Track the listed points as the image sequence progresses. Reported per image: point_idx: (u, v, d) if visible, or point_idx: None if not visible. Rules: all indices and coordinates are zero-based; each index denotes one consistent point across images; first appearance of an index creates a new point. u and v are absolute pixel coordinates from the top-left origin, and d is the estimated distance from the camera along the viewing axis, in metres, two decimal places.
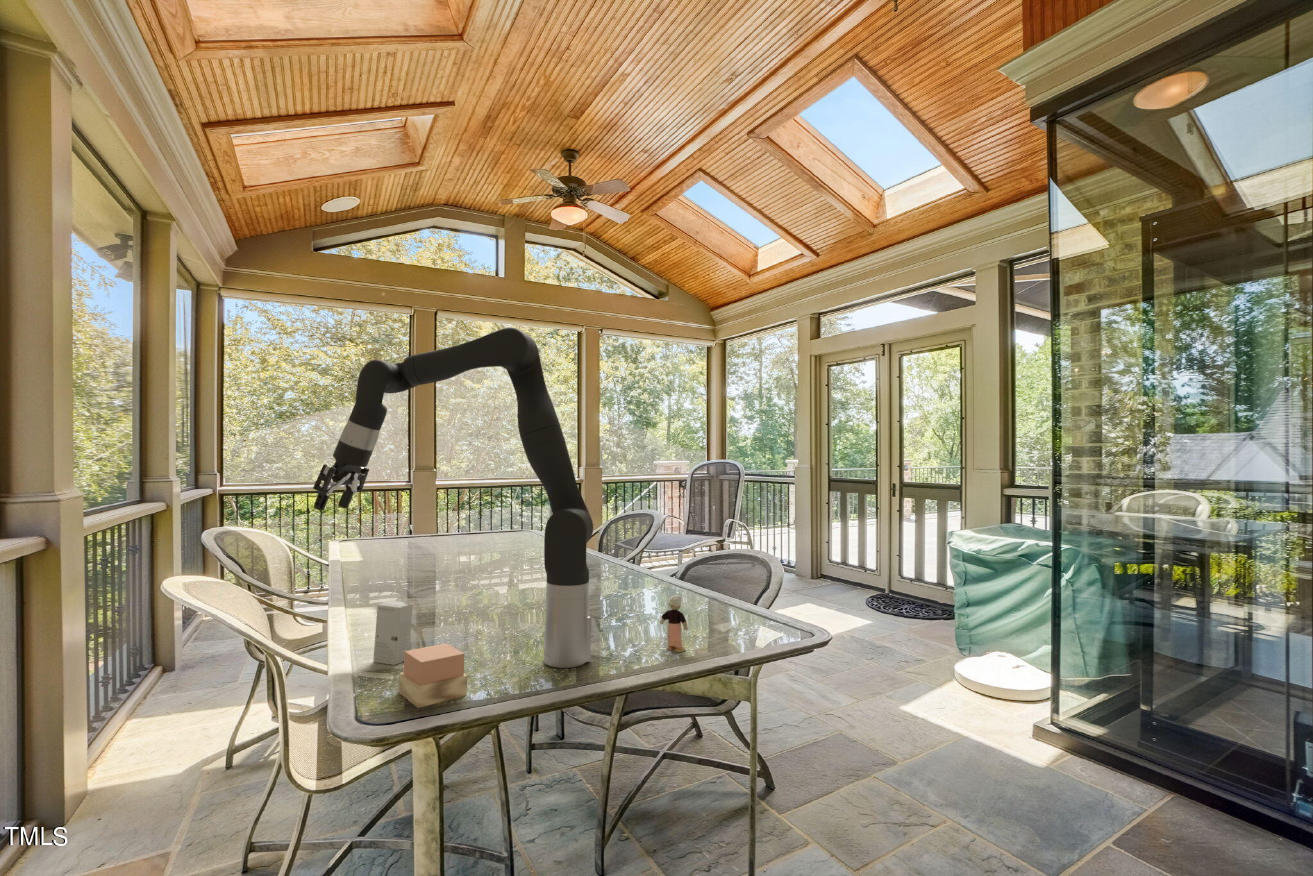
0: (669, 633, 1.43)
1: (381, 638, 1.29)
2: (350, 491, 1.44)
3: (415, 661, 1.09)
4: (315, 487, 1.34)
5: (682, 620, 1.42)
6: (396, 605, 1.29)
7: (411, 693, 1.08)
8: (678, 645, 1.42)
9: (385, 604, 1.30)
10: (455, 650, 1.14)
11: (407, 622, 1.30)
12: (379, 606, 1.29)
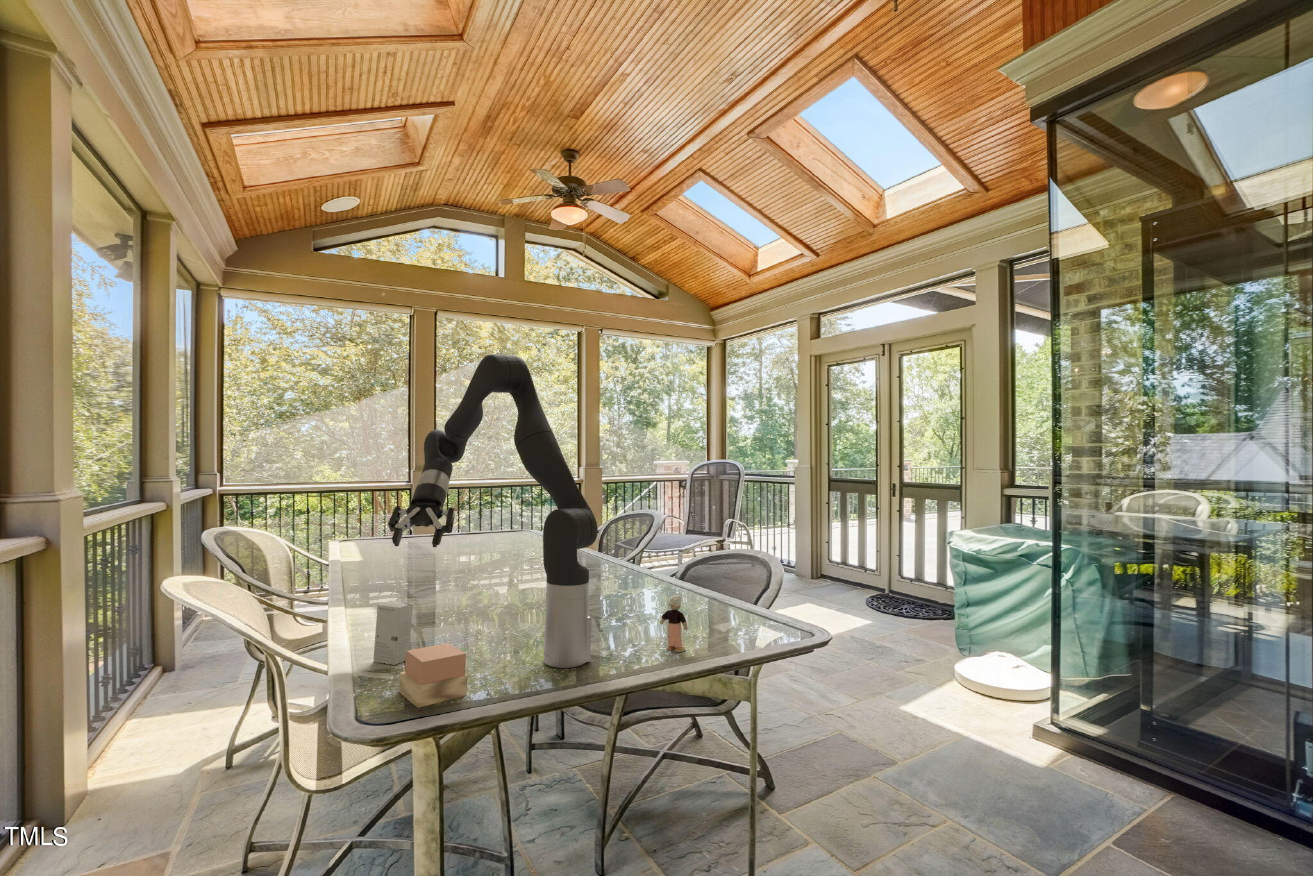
0: (669, 633, 1.43)
1: (381, 638, 1.29)
2: None
3: (416, 661, 1.09)
4: None
5: (682, 620, 1.42)
6: (396, 605, 1.29)
7: (411, 693, 1.09)
8: (678, 645, 1.42)
9: (385, 604, 1.30)
10: (457, 650, 1.14)
11: (407, 622, 1.30)
12: (379, 606, 1.29)
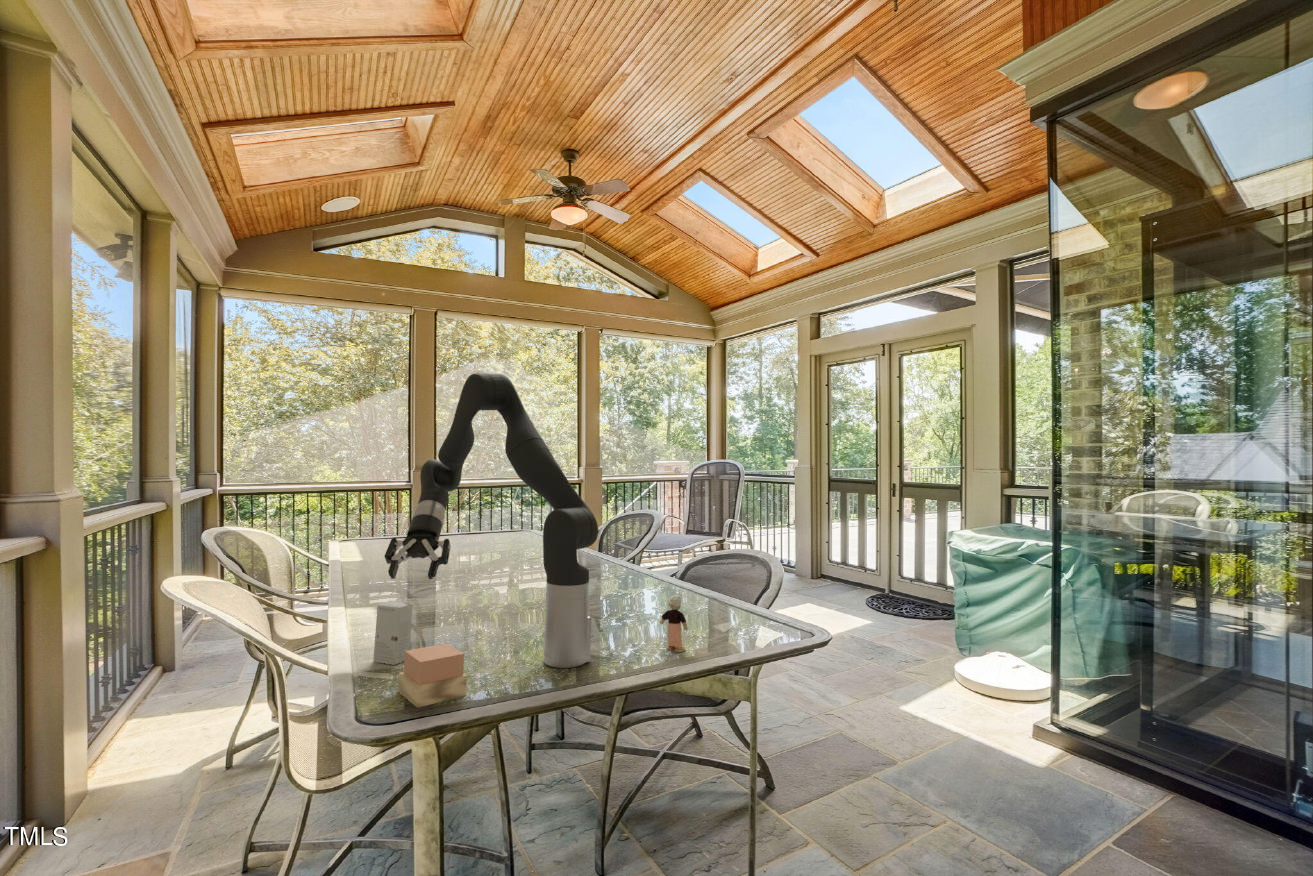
0: (669, 633, 1.43)
1: (381, 638, 1.29)
2: None
3: (414, 661, 1.09)
4: None
5: (682, 620, 1.42)
6: (396, 605, 1.29)
7: (410, 693, 1.09)
8: (678, 645, 1.42)
9: (385, 604, 1.30)
10: (455, 650, 1.14)
11: (407, 622, 1.30)
12: (379, 606, 1.29)
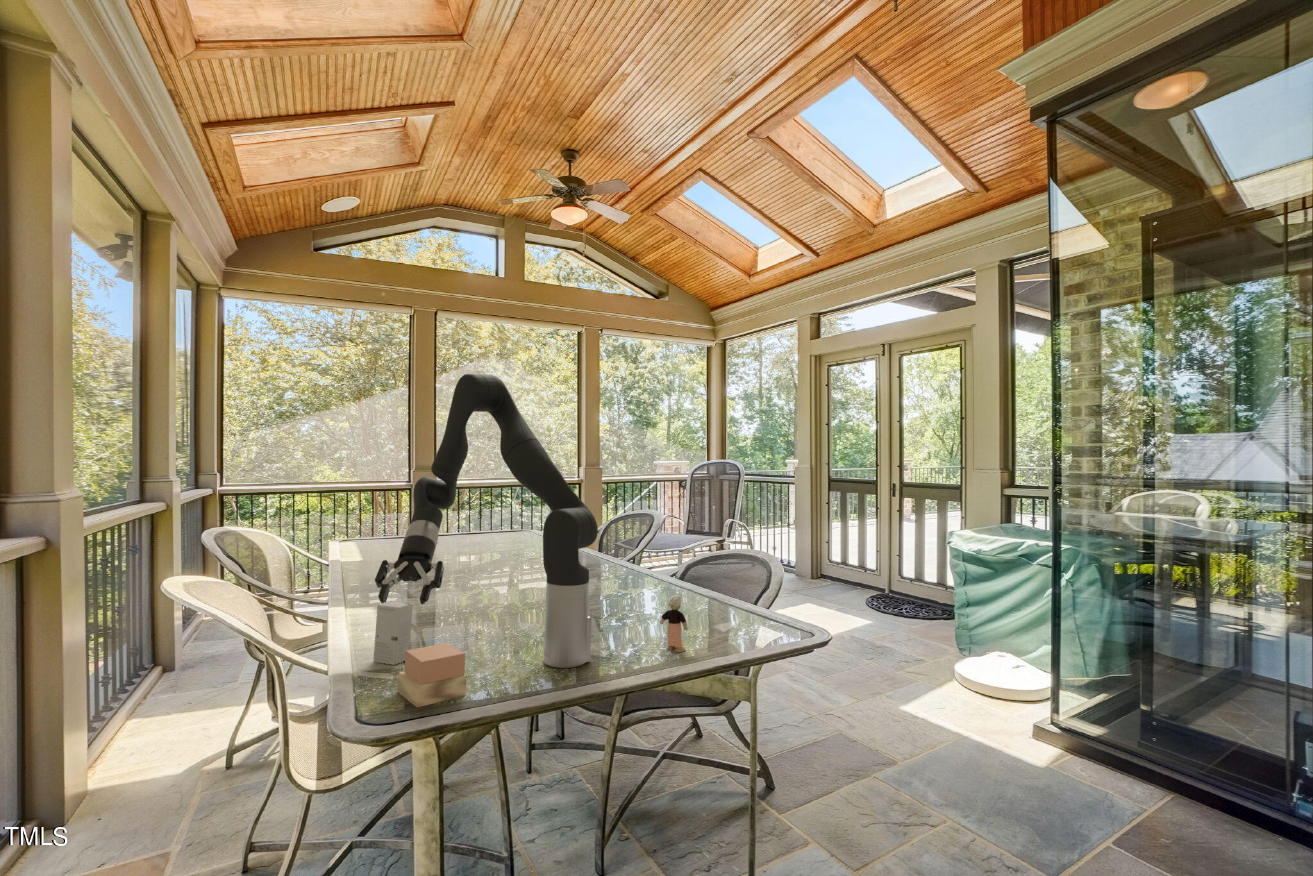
0: (669, 633, 1.43)
1: (381, 638, 1.29)
2: None
3: (415, 660, 1.09)
4: None
5: (682, 620, 1.42)
6: (396, 605, 1.29)
7: (410, 693, 1.09)
8: (678, 645, 1.42)
9: (385, 604, 1.30)
10: (456, 650, 1.14)
11: (407, 622, 1.30)
12: (379, 606, 1.29)
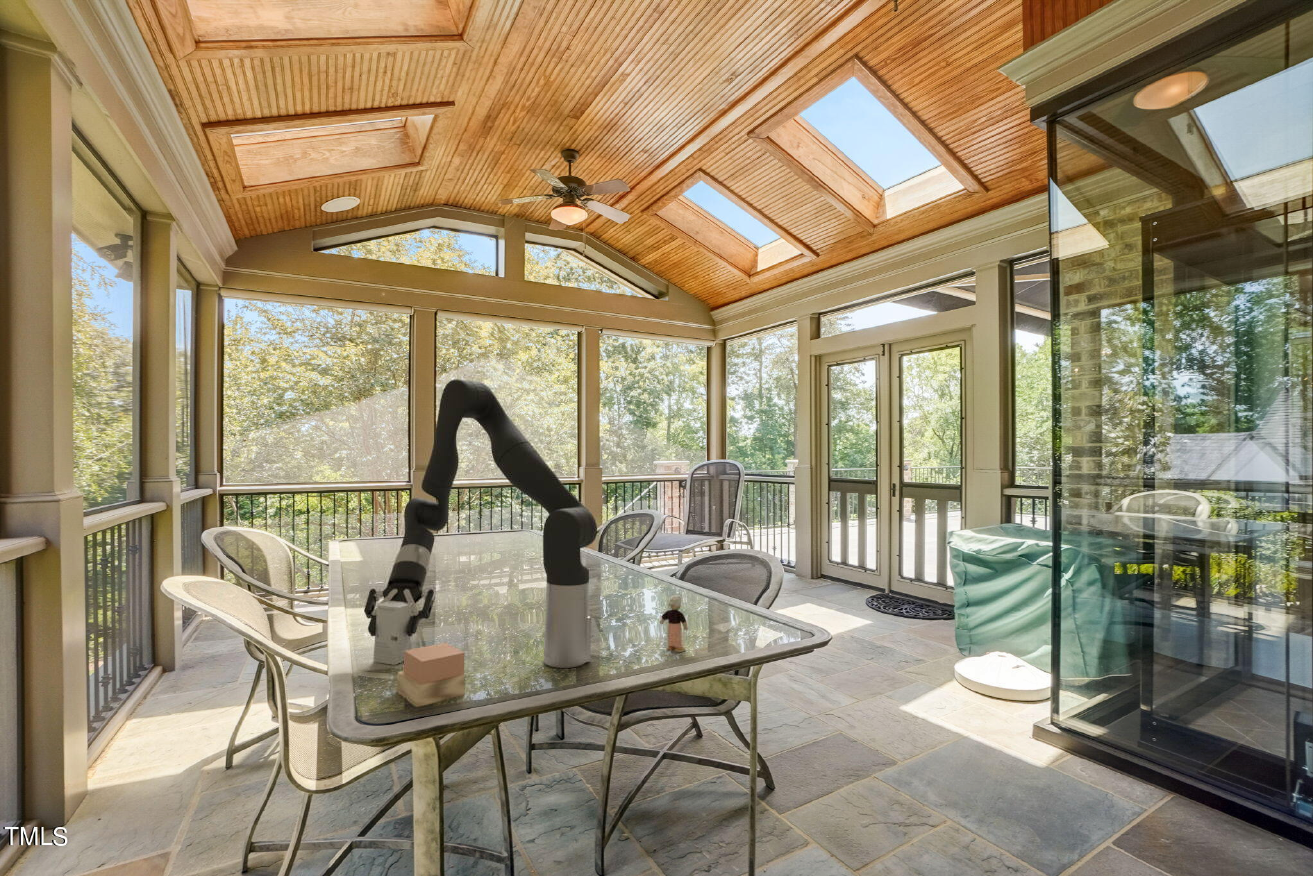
0: (669, 633, 1.43)
1: (381, 638, 1.28)
2: None
3: (415, 660, 1.09)
4: None
5: (682, 620, 1.42)
6: (396, 605, 1.29)
7: (409, 693, 1.09)
8: (678, 645, 1.42)
9: (385, 604, 1.30)
10: (455, 649, 1.15)
11: (407, 622, 1.30)
12: (379, 606, 1.29)
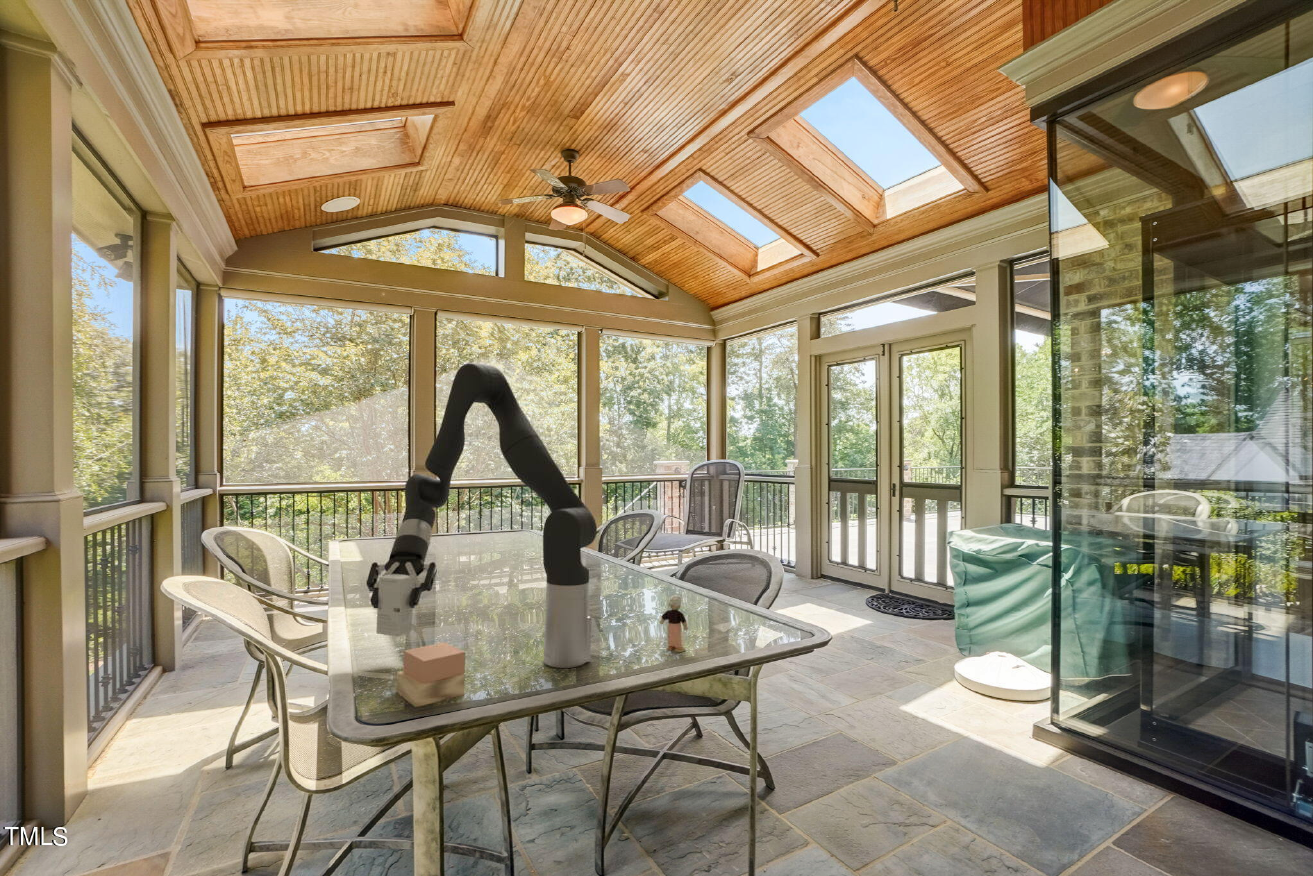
0: (669, 633, 1.43)
1: (384, 610, 1.29)
2: None
3: (416, 660, 1.10)
4: None
5: (682, 620, 1.42)
6: (398, 577, 1.30)
7: (409, 693, 1.09)
8: (678, 645, 1.42)
9: (387, 576, 1.30)
10: (455, 649, 1.15)
11: (409, 594, 1.30)
12: (381, 578, 1.30)
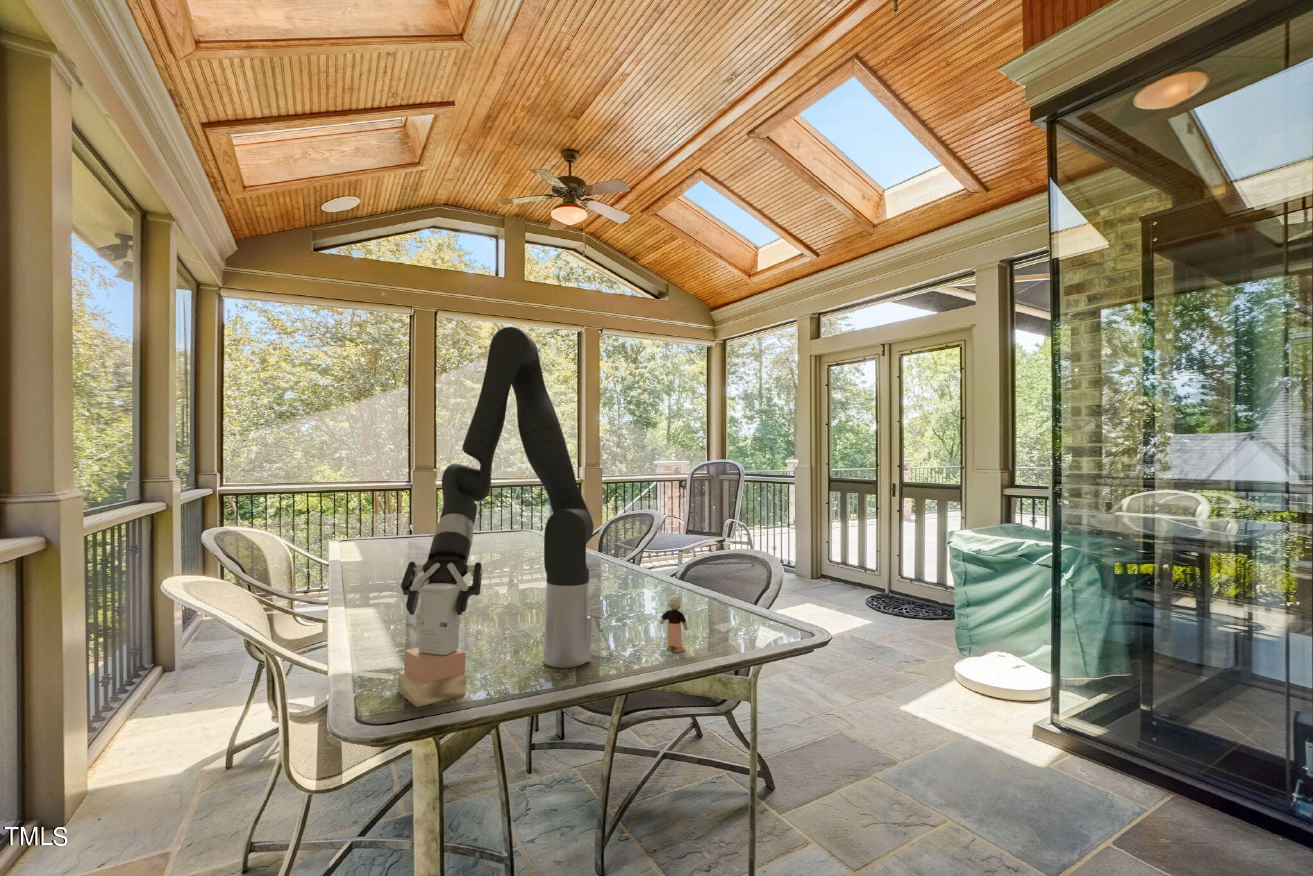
0: (669, 633, 1.43)
1: (428, 625, 1.12)
2: (461, 591, 1.15)
3: (416, 660, 1.10)
4: None
5: (682, 620, 1.42)
6: (443, 586, 1.12)
7: (410, 692, 1.09)
8: (678, 645, 1.42)
9: (430, 586, 1.13)
10: None
11: (456, 606, 1.13)
12: (423, 588, 1.12)
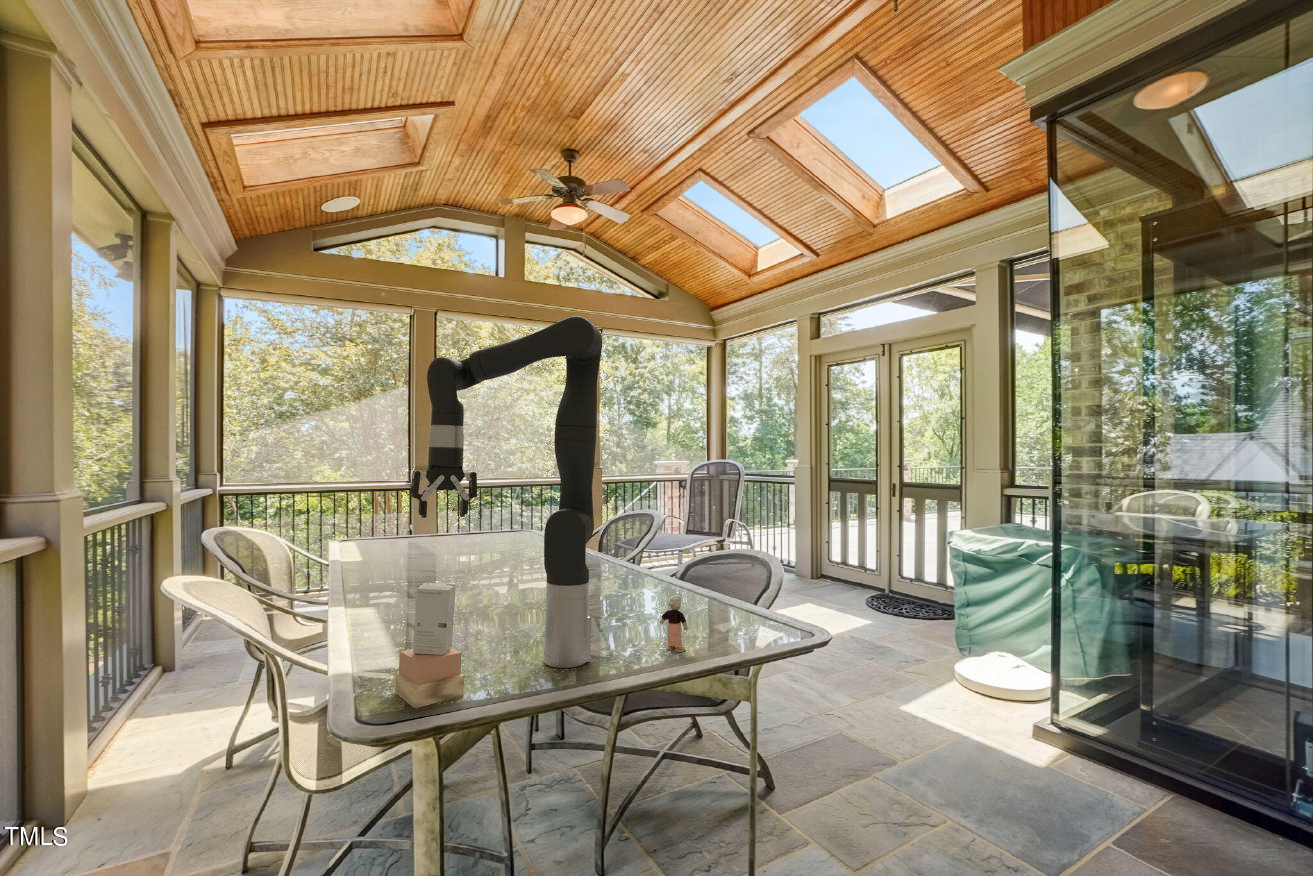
0: (669, 633, 1.43)
1: (424, 626, 1.11)
2: (462, 498, 1.40)
3: (412, 661, 1.09)
4: (410, 494, 1.35)
5: (682, 620, 1.42)
6: (441, 587, 1.12)
7: (408, 693, 1.08)
8: (678, 645, 1.42)
9: (426, 587, 1.11)
10: (451, 649, 1.14)
11: (452, 605, 1.14)
12: (420, 590, 1.11)
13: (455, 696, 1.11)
